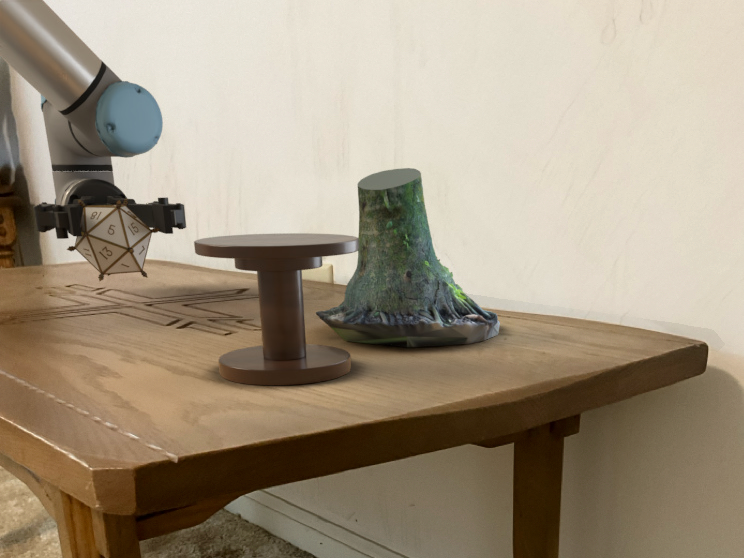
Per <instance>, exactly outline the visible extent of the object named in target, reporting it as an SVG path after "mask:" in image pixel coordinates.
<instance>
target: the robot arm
mask: <svg viewBox="0 0 744 558" xmlns="http://www.w3.org/2000/svg"><path fill="white" fill-rule="evenodd" d="M0 58H1V59H2V60H3V61H4V62H6V63H7V64H8V65H9V66H10V67H11V68H12V69H13V70H14V71H15V72H16V73H17V74H18V75H19V76H21V78H23V79H24V80H25V81H26V82H27V83H28V84H29V85H30V86H31V87H32V88H34V89H35V91H37V92H38V93H39V94H40V109H41V113H42V116H43V122H44V127H45V135H46V140H47V146H48V152H49V158H50V164H51V173H52V181H53V187H54V192H55V198H54V203H48V202H46V201H45V202H43V201H42V202H41V203H38V204H36V205H33V207H32V208H33V214H34V219H35V220H34V221H35V226H36V231H37V232H39V233H47V232H50V231H52V230H54V229H55V235H56V239H57V240H59V239H60V240H63V239H67V240H68V239H69V235H71V236H73V237H76V238H77V236H82V234H81V227H80V220H81V216H82V211H83V207H82V206H80V204H79V203H78V200H81V201H82V200H83V202H84V204H85V205H86V206H92V205H116V202H117V201H118V200H120V202H121V205H123V200H125V199H126V198H127V200H128V202H129V203H128V205H127V207H128V208H129V209H130V210H131V211H132V212H133V213H134V214H135V215H136V216H137V217H138V218H139V219H140V220H141V221H143V222H144V223H145V224H146V225H147V226H148V227H149V228H150V229H153V228H155V227H156V228H158V229H160V230H159V231H158V232H159V233H162V234H164V235H172V234H174V229H178V230H184V229H186V228H187V221H186V211H185V210H186V209H185V204H184V203H181V202H176V203H170V202H169V197H157V200H154V201H152V202H146V203H137V202H136V200H135V199H134V198H128V197H127V196H126V195H125V193H124V191H122V189H121V188H119V187H118V186H117V185H115V177H114V172H113V171H114V169H113V168H114V167H113V161H112V158H134V157H135V156H139V155H144V154H146V153H147V152H150V151H151V150H152V149H153V148H154V147H155V146H156V145H157V144H158V142H159V140H160V138H161V136H162V133H163V125H164V122H163V114H162V111H161V107H160V105H159V103H158V101H157V100H156V98H155V97H154V96H153V94H152V93H151V92H150V91H149V90H147V89H146V88H145V87H143V86H141V85H139V84H137V83H133V82H130V81H127V80H125V81H124V80H122V79H121V78H120V77H119V76H118V75H117V74H116V73H115V72H114V71H113V70H112V69H111V68H110V67H109V66H108V65H107V64H106V63H105V62H104V61H103V60H102V59H100V57H99V56H98V55H97V54H96V53H95V52H94V51H93V50H92V49H91V48H90V47H89V46H88V45H87V44H86V43H85V42H84V41H83V39H81V38H80V37H79V36H78V35H77V34H76V32H74V31H73V30H72V28H71V27H70V26H69V25H68V24H67V23H66V22H65V21H64V20H63V19H62V18H61V16H59V15H58V14H57V13H56V12H55V11H54V10H53V9H52V8H51V7H50V6H49V5H48V3H46V2H45V1H44V0H0Z"/></svg>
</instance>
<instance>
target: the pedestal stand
mask: <svg viewBox="0 0 744 558" xmlns="http://www.w3.org/2000/svg"><path fill="white" fill-rule="evenodd" d="M193 245H194V246H193V247H194V253H195V254H196V255H197V256H201V257H207V258H216V259H233V260H234V268H235V269H236V270H241V271H248V272H256V278H257V292H258V304H259V317H260V329H261V343H262V345H255V346H248V347H244V348H243V347H242V348H238V349H234V350H231V351H228V352H226V353H223V354H221V355H220V356H219V358H218V368H219V369H218V370H219V375H220V376H221V377H222V378H223V379H225V380H228V381H231V382H234V383H238V384H244V385H245V384H246V385H254V386H295V385H306V384H315V383H320V382H326V381H330V380H331V381H332V380H335V379H338V378H340V377H343V376H345V375H347V374H348V373H349V372H350V371H351V369H352V361H351V360H352V359H351V352H349V351H348V350H345V349H343V348H341V347H337V346H331V345H327V344H326V345H325V344H316V343H315V344H314V343H307V341H306V340H307V338H306V323H305V322H306V321H305V306H304V305H305V303H304V288H303V287H304V285H303V271H308V270H313V269H314V270H315V269H319V268H321V267H323V264H324V263H323V257H324V258H325V257H333V256H341V255H348V254H353V253H356V252H358V250H359V238H358V237H357V236H354V235H346V234H337V233H308V232H307V233H305V232H304V233H302V232H301V233H299V232H298V233H292V232H291V233H289V232H288V233H252V234H233V235H219V236H211V237H203V238H198V239H196V240H194V241H193Z"/></svg>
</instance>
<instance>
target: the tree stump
mask: <svg viewBox="0 0 744 558" xmlns="http://www.w3.org/2000/svg"><path fill="white" fill-rule="evenodd" d="M357 197H358V237H357V238H359V250H358V251H357V262H356V268H355V271H354V272H353V274H352V276H351V278H350V279H349V281H348V282H347V285H346V288H345V291H344V299H343V301H342V302H341V303H340V304H339V305H337V306H334V307H331V308H328V309H325V310H317V311H316V312H315V314H316V316H318V318H319V319H320V320H321V321H323V323H325V324H326V325H327V326H328V327H329V328H331V329H332V330H333V331H334V332H335V333H336V334H337V335H339V337H341V338H342V339H343V340H344V341H345V342H352V343H361V344H371V345H381V346H390V347H399V348H401V347H402V348H423V347H440V346H455V345H468V344H473V343H478V342H484V341H486V340H489V339H491V338H494V337H496V336H498V335H499V330H500V327H501V323H500V320H498V319H499V317H498V314H497V313H495V312H493V311H490V310H485V309H483V308H482V307H481V306H480V305H479V304H478V303H476V302H475V301H474V299H472V298H471V297H470V296H468V295H467V294H466V292H464V291H463V288H462V287H461V286H460V284H457V283H456V281H455V280H454V278H453V277H454V274H453V271H450V268H448V267H447V266H445V265H443V264H442V262H440V261H441V259H438V256H437V255H436V250H435V248H434V243H433V238H432V234H431V229H430V224H429V219H428V214H427V209H426V204H425V196H424V186H423V179H422V172H421V171H420V170H418V169H416V168H410V167H405V168H394V169H393V168H392V169H386V170H381V171H377V172H374V173H371V174H368V175H367V176H365V177H363V178H361V179H360V180H359V181H358V182H357Z"/></svg>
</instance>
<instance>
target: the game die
mask: <svg viewBox="0 0 744 558" xmlns="http://www.w3.org/2000/svg"><path fill="white" fill-rule="evenodd" d="M127 199H128V197H127V198H126V199H125V200H123V205H121V202H120V200H118V201H117V202H116V205H92V206H86V205H85V204H84V202H83V200H82V201H81V200H78V203H79V204H80V206H82V207H83V211H82V216H81V220H80V227H81V234H82V236H77V237H76V239H75V243H74V246H73V245H71V246H70V245H69V246H68V247H67V248H66V250H67V251H69V252H74V251H75V250H76V252H77V253H79V254H80V255H81V256H82V257H83V258H84V259H85V260H86V261H87V262H88V263H89V264H90V265H91V266H92V267H94V269H95V270H96V271H97V272H99V274H98V276H97V278H98V281H99V282H102V281H103V280H105V275H106V276H107V277H109V276H111V275H118V274H131V273H140V274H141V276H142V277H143V278H149V277H148V273H147V272H146V271H144V266H145V262H146V258H147V254H148V251H149V246H150V242H151V238H152V234H153V233H154V234H157V233H158V232H159V230H160V229H158V228H156V227H155V228H149V227H148V226H147V225H146V224H145V223H144V222H143V221H141V220H140V219H139V218H138V217H137V216H136V215H135V214H134V213H133V212H132V211H131V210H130V209H129V208H128V207H127V205H128V203H129V202H128V200H127Z"/></svg>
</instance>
